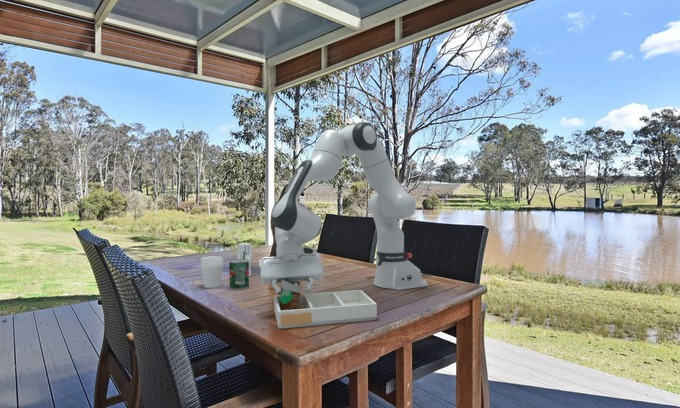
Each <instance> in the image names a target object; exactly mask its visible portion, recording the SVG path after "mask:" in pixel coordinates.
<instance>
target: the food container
mask: <svg viewBox="0 0 680 408" xmlns="http://www.w3.org/2000/svg"><path fill="white" fill-rule="evenodd" d="M279 287H281V294H279V296H280V302H279V307H280V310H281V311H282V310H295V309H297V306H298V302H299V297H300V294H302V288H303V286H302V285H300V282H294V281H288V280H285V278H283V280H282V281H281V283H279Z"/></svg>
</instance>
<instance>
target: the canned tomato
mask: <svg viewBox="0 0 680 408" xmlns="http://www.w3.org/2000/svg"><path fill="white" fill-rule="evenodd" d="M228 262H229V263H228V264H229V265H228V266H229V267H228V270H229V275H228V277H229V289H231V290H245V289H248V288H249V287H250V277H249V260H247V259H231V260H229V261H228Z"/></svg>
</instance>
